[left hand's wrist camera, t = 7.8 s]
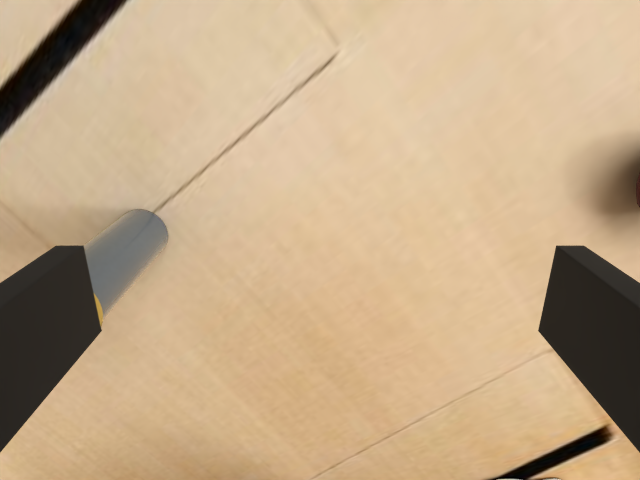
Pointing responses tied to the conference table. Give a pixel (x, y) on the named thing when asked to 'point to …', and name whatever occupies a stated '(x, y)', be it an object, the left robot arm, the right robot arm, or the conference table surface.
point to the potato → (638, 190)
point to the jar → (123, 254)
